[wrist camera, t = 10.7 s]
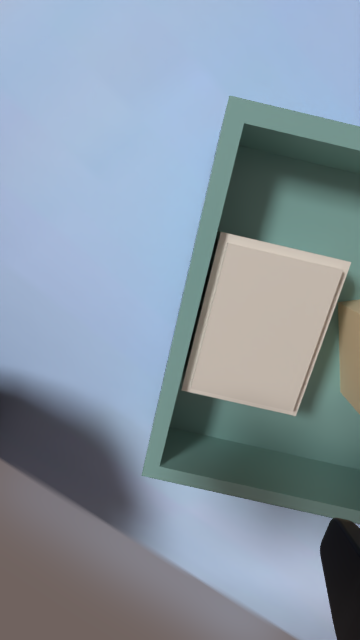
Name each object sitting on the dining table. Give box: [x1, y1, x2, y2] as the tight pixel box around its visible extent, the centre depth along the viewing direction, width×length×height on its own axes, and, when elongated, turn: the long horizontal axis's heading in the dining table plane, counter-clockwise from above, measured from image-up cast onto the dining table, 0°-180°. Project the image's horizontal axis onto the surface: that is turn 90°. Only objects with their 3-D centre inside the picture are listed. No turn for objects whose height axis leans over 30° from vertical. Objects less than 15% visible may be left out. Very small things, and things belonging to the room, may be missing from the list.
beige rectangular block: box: [182, 231, 351, 416], centre depth 18 cm, size 6×8×3 cm
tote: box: [142, 96, 360, 524], centre depth 18 cm, size 16×18×4 cm
